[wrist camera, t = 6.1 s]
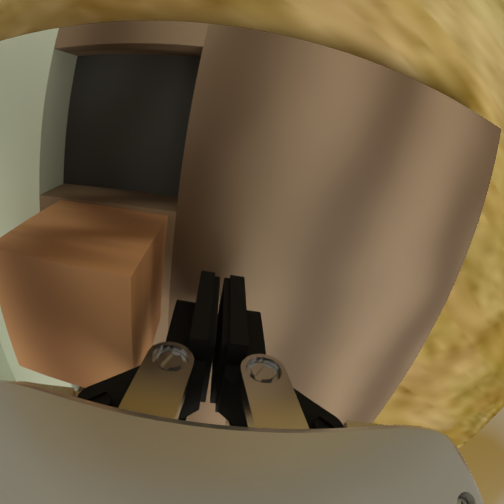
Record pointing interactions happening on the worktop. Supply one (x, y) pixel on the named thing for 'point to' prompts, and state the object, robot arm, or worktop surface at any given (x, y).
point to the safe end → (30, 147)
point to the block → (83, 289)
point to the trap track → (284, 189)
